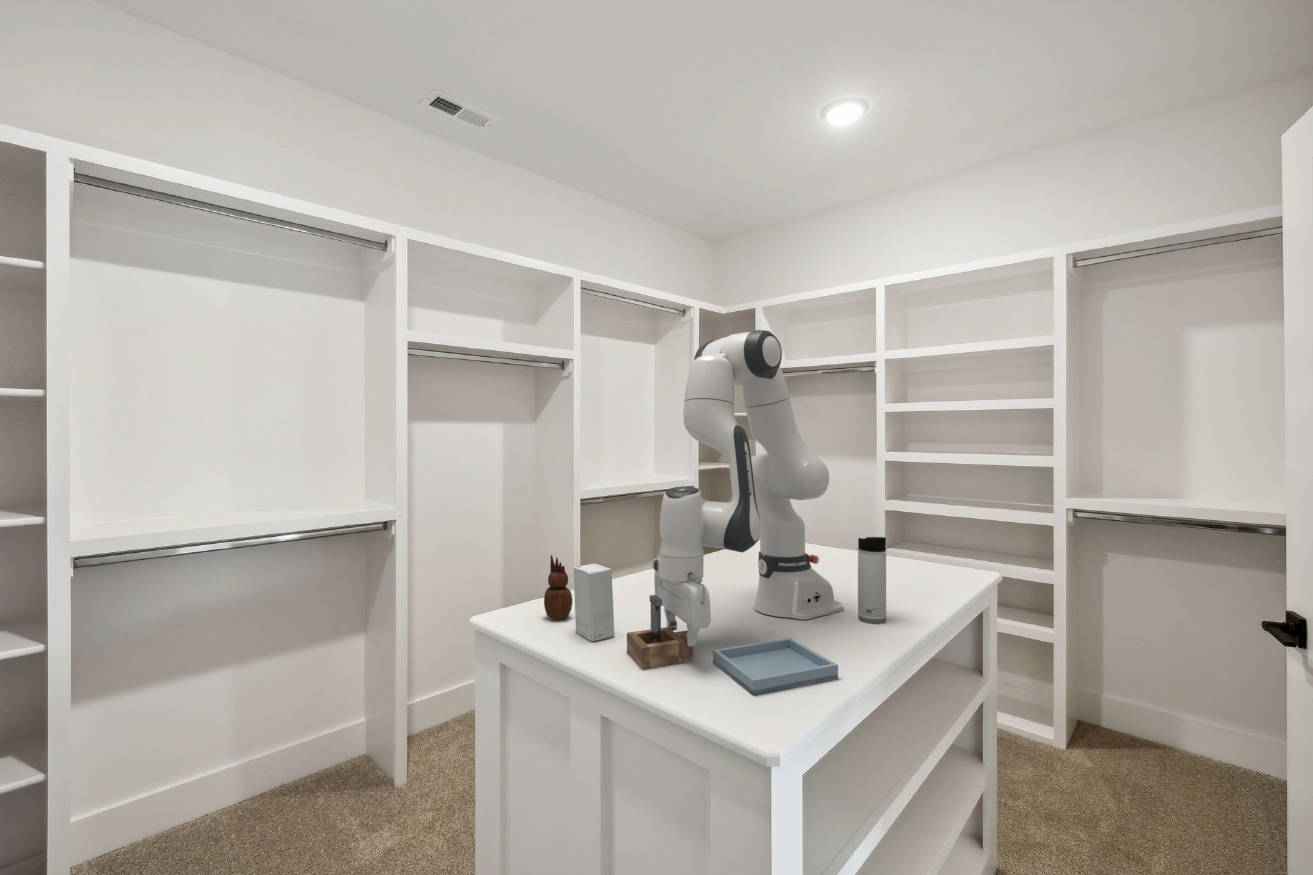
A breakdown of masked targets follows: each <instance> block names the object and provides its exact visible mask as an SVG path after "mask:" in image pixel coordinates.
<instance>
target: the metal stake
mask: <svg viewBox="0 0 1313 875" xmlns="http://www.w3.org/2000/svg"><path fill="white" fill-rule="evenodd" d="M649 602H650V629H651V644H653V643H660V642H661V628H662V619H661V618H662V614H661V613H662V612H661V611H662V610H661V609H662V607H663V606H662V599H660V598H659V597H658V596H656V595H655V594H651V595H649Z"/></svg>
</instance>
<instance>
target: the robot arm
mask: <svg viewBox="0 0 1313 875" xmlns="http://www.w3.org/2000/svg"><path fill="white" fill-rule="evenodd" d="M782 349H783V348H782V346H781V343H780V341H779V338H777V337H776V336H775V334H774V333H772V332H771V331H770V330H765V329H764V330H763V329H756V330H751V331H748V332H738V333H734V334H730V335H728V336H726V337H721V338H719V339H717V340H710V341H707V342H706V343H704V344H702V345H701V346H700V347H699V348H698V349H697V350H696V352H695V356H694V359H693V361H692V363H691V366H690V369H689V373H688V377H687V380H686V385H685V393H684V398H683V399H684V401H683V403H684V404H683V412H682V413H683V414H682V416H683V425H684V427H685V430H686V431H687V433H688V434H689V436H691V437H692V438H693V439H694V440H696V441H697V442H699V443H700V444H703V445H705V446H708V447H710V448H712V449H715V450H717V451H718V452H720V453H721V454H722V455H723V456H724V457H725V458H726V460H727V462H728V467H729V475H730V476H729V478H730V485H731V496H732V498H731V499H732V500H731V501H728V502H727V501H726V502H725V501H713V500H712V501H711V500H706V499H704V498H702V493H701V489H699V488H698V487H696V486H690V485H689V486H687V485H686V486H684V485H682V486H676V487H671V488H669V489H667V490H666V491H665V492H664V493H663V497H662V500H661V501H662V502H661V505H660V506H661V507H660V518H659V521H660V522H659V523H660V524H659V534H660V537H661V546H660V548H659V557H657V558H654V559H652V569H653V571H654V575H653V576H654V578H653V580H654V582H653V583H654V595H656V596H658V597H659V598H660V599H662V606H661V607H663V608H664V609H663V611H664V615H665V620H666V627H669V628H670V629H671V630H672V631H673V632H674V631H677V629H678V620H676V617H677V618H678V619H680V620H681V621H682V622H684V623H685V624H686V629H687V630H688V633H687V635H685V641H686V644H687V645H688V646H693V647H696V645H697V642H698V641H697V637H698V635H699V633H700V629H706V628H709V626H710V624H711V622H712V617H711V616H712V615H711V614H712V613H711V599H710V592H709V589H708V587H707V586H705V585H704V583H703V582H704V581H703V578H704V555H705V554H704V553H705V552H704V548H703V547H709V548H720V549H726V550H728V551H732V552H733V551H734V552H738V553H745V552H746V551H749V550H750V549H751V548H752V547H754V546H755V544H757V543H758V542H759V546H760V547H759V551H758V562H757V564H758V566H757V567H758V574H759V578H758V585H757V586H758V587H757V591H756V597H755V601H754V604H753V609H754V610H756V611H757V612H759V613H761V614H764V615H768V616H773V617H778V618H779V617H780V618H791V619H795V620H800V621H801V620H802V621H806V620H810V619H814V618H819V617H821V616H826V615H830V614H833V613H837V612H842V611H844V608H845V607H844V604H842V602H840V601H838V600H836V599H835V594H834V589H833V586H832V584H831V583H830V582H829V580H827V579H825V577H823V576H822V575H821V574H820V573H818V572H817V571H816V570H815V569H813V568H812V565H811V563H812V564H815V565H818V564H819V562H820V557H819V556H818V555H814V554H810V555H809V554H808V553H807V552H806V526H805V521H804V520H803V518H802V517H800V515H799V514H797V512H796V511H795V509H794V507H793V505H792V503H791V500H795V501H796V500H798V501H806V500H807V501H808V500H813V499H818V498H820V497H822V496H823V495H824V494H825V492H827V489H828V487H829V485H830V471H829V469H828V467H827V465H826V463H825V462H824V461H822V460H821V459H820V458H818V456H816V455H815V454H814V453H813V452H812V451H811V450H810V448H809V447H808V446H807V444H806V442H805V441H804V440H803V438H802V436H801V434H800V432H799V430H798V428H797V424H796V421H795V416H794V413H793V408H792V403H791V399H790V392H789V389H788V385H787V382H786V379H785V375H784V374H783V370H782V368H781V364H782V363H781V362H782V358H783V351H782ZM736 383H740V384H741V391H742V398H743V403H744V409H745V413H746V417H747V418H746V419H747V422H748V427H749V432H750V435H751V437H752V439H753V440H755V441H756V442H757V443H758V444H760V446H761V447H763V449H764V450H765V452H766V453H761V454H756V455H752V454H751V448H750V442H749V439H748V438H749V437H748V434H747V432H746V430H745V428H743V427H741V426H739V423H738V422H737V419H736V416H735V384H736Z"/></svg>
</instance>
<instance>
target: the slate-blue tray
mask: <svg viewBox="0 0 1313 875" xmlns="http://www.w3.org/2000/svg"><path fill="white" fill-rule="evenodd" d="M712 663H713V664H714V665H715V666H716V667H717V668H718V669H720V670H721V671H722V672H723V673H725V674H726V675H727V676H729V677H730V678H731V679H732V680H733V681H735V682H736V683H737V684H738V685H740V686H741V687H742V688H743V689H744V690H745V691H747V692H748V693H749V694H751V695H752V696H757V695H762V694H767V693H772V692H778V691H784V690H788V689H793V688H799V687H803V686H809V685H814V684H818V683H824V682H829V681H835V680H838V679H839V664H837V663H836V662H834V661H832V660H830V659H828V658H827V657H825V656H823V655H822V654H819V652H816V651H814V650H812V649H810V648H809V647H807V646H805V645H804V644H802V643H800V642H799V641H796V640H795V639H793V638H791V637H788V638H783V639H775V640H769V641H763V642H761V641H760V642H756V643H751V644H750V643H749V644H745V645H738V646H737V645H736V646H731V647H725V648H723V647H722V648H719V649H713V650H712Z"/></svg>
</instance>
